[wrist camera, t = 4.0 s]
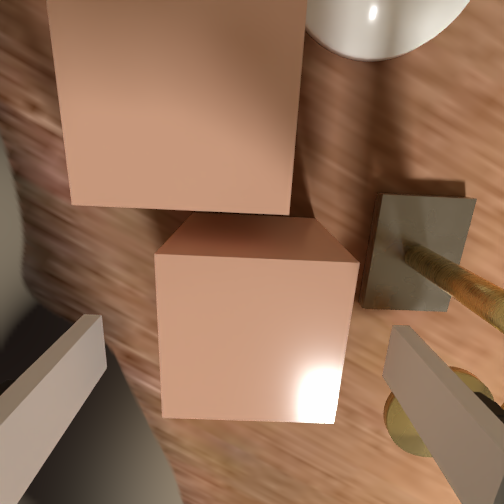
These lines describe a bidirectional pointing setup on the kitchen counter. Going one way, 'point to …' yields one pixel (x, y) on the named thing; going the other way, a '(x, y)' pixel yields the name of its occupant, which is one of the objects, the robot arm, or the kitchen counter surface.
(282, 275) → the peach pink cube
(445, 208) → the balance
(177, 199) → the tan cardboard-like box
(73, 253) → the kitchen counter surface
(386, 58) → the dish
